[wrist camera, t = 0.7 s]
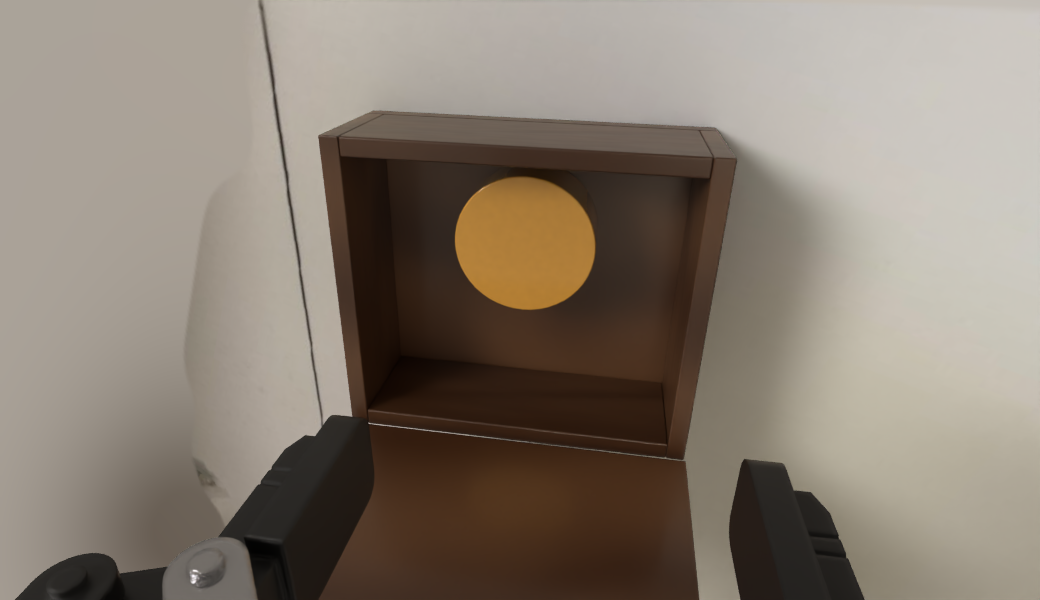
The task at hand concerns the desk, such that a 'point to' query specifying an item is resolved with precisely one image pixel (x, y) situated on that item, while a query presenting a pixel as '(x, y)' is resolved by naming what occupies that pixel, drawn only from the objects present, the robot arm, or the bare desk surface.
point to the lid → (516, 524)
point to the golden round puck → (528, 237)
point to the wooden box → (515, 332)
